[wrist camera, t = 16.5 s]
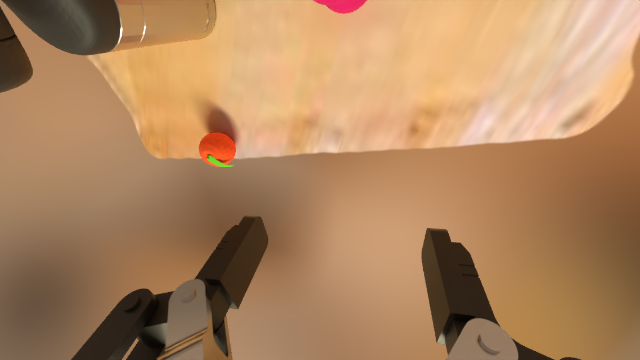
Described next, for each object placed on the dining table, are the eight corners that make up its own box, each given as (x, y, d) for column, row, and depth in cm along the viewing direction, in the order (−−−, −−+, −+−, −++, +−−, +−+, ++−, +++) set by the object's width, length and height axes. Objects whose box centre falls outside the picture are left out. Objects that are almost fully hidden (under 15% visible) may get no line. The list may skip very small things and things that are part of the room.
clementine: (250, 144, 49) (234, 161, 44) (238, 164, 53) (221, 182, 48) (217, 120, 48) (196, 134, 42) (207, 142, 51) (186, 158, 46)
